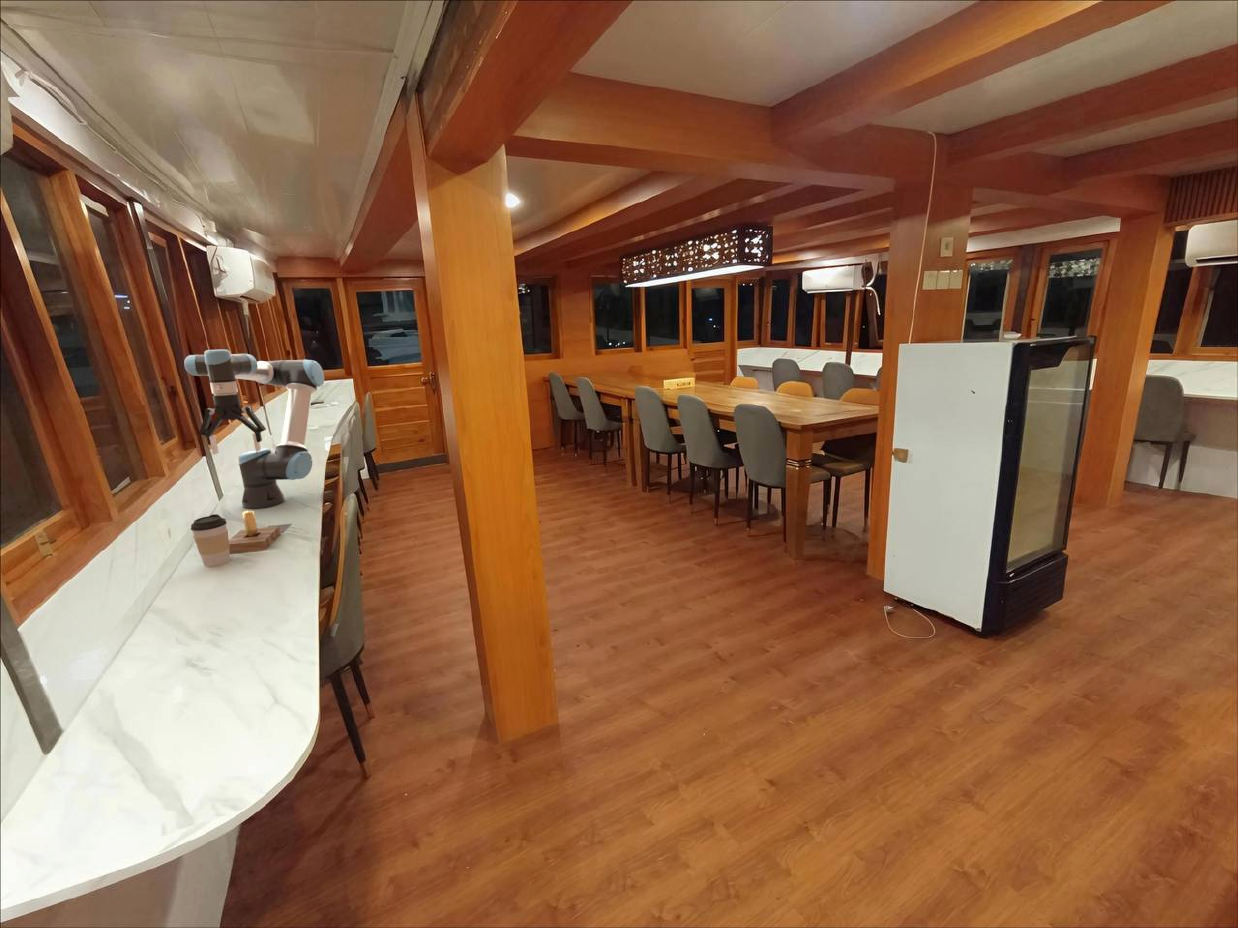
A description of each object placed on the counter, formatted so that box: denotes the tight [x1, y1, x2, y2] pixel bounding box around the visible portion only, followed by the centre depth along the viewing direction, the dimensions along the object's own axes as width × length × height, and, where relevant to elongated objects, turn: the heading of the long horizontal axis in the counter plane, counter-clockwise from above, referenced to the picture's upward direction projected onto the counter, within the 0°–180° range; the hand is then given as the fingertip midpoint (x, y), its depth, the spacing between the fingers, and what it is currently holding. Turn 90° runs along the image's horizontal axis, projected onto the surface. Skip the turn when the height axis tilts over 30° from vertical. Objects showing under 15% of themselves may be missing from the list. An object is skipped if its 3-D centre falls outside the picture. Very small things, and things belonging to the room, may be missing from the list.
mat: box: [267, 523, 292, 534], centre depth 195 cm, size 10×8×1 cm
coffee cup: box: [190, 513, 231, 568], centre depth 167 cm, size 9×9×15 cm
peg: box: [241, 509, 258, 538], centre depth 181 cm, size 3×3×12 cm
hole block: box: [229, 526, 282, 554], centre depth 182 cm, size 14×12×4 cm
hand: (237, 452), depth 193 cm, fingers open, 13 cm apart
